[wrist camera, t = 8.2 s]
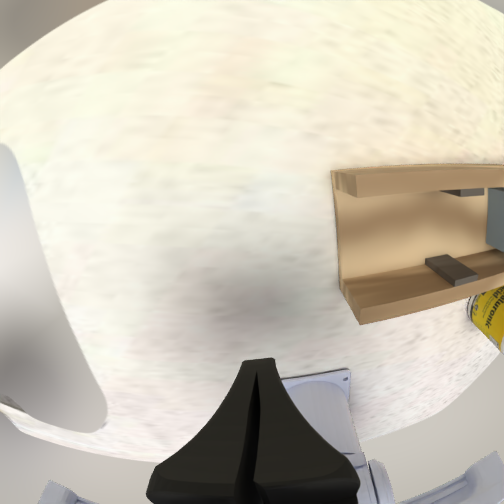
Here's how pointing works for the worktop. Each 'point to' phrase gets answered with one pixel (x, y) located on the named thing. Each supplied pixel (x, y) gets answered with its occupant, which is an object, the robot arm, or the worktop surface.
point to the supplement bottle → (489, 315)
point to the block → (495, 218)
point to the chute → (414, 236)
